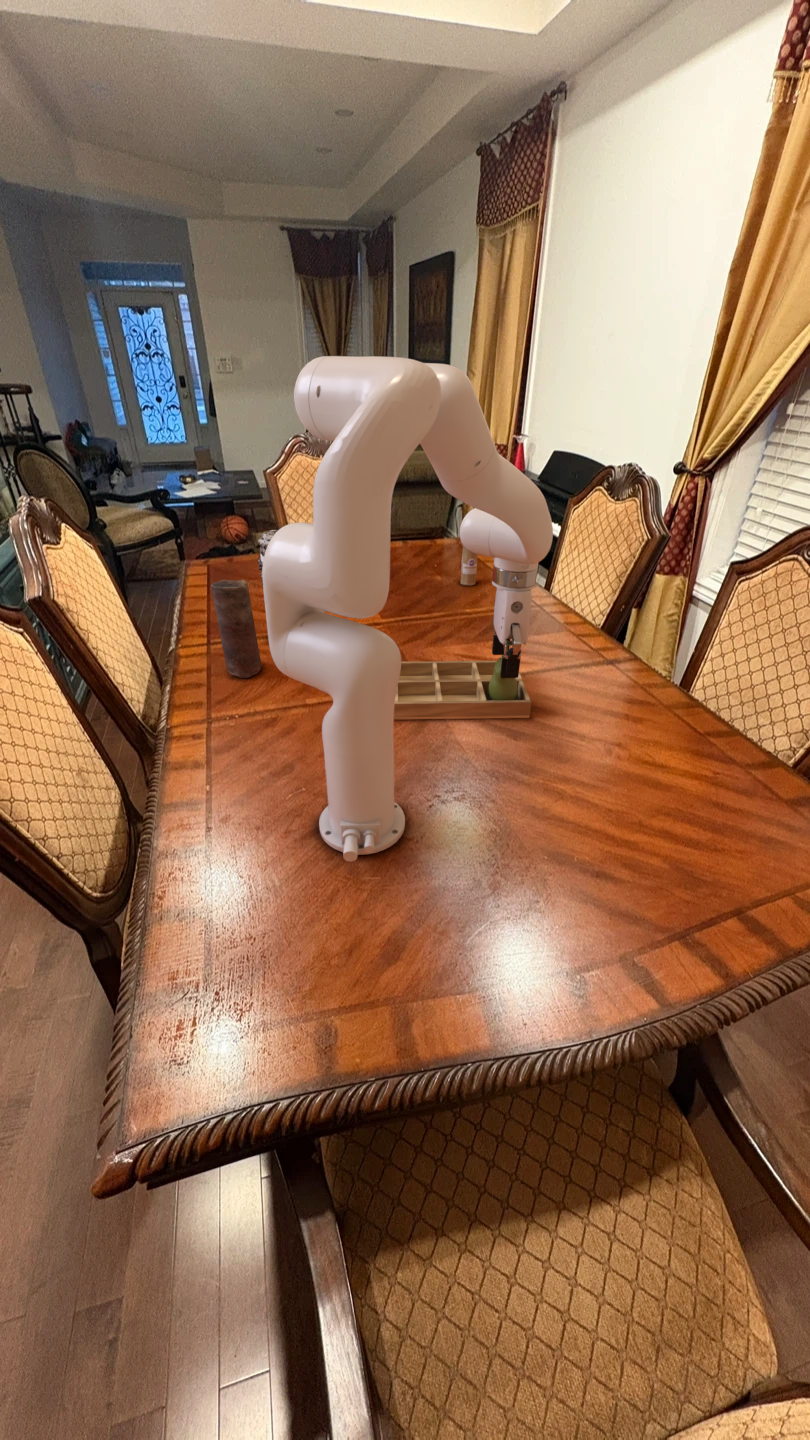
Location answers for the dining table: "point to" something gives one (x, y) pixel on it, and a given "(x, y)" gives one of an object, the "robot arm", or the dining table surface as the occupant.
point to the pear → (502, 685)
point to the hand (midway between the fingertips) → (504, 665)
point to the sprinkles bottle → (468, 567)
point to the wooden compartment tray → (454, 692)
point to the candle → (236, 627)
